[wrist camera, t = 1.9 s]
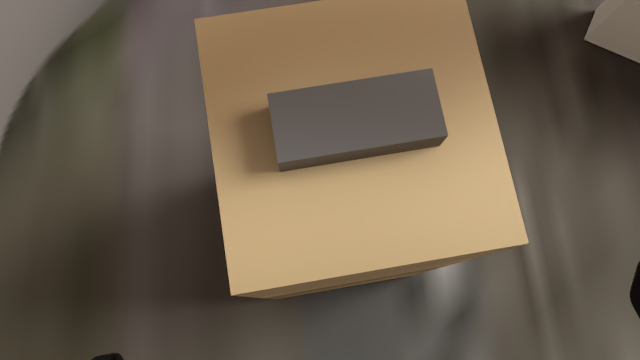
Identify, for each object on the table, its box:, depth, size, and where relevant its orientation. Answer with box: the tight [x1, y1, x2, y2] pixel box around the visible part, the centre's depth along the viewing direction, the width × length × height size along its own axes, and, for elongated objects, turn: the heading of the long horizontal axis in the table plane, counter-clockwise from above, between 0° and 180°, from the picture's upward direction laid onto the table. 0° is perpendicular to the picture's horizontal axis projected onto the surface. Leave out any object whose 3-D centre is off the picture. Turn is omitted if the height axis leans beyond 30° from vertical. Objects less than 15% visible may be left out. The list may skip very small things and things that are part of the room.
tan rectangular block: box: [194, 0, 529, 299], centre depth 14 cm, size 5×5×12 cm
